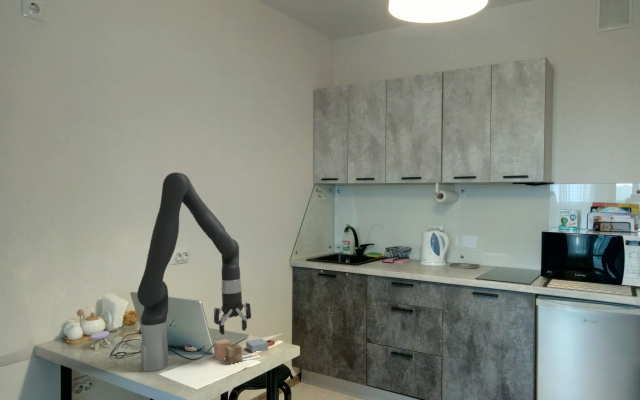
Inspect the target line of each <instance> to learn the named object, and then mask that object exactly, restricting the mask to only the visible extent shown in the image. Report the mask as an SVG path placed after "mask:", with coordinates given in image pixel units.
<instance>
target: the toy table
mask: <svg viewBox="0 0 640 400" xmlns="http://www.w3.org/2000/svg"><path fill="white" fill-rule="evenodd" d="M108 336H110V331H108V330H104V331H98V332H96V333H93V334H91V336H90V340H93V342H92V343H91V344H90V345H95V347H93V349H94V348H97V347H99V348H100V346H101V345H100V344H102V343H103V344H104V345H111V346H112V344H111V342H109V341H108V340H107V337H108ZM104 345H103V346H104Z"/></svg>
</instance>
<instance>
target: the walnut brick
mask: <svg viewBox="0 0 640 400" xmlns="http://www.w3.org/2000/svg"><path fill="white" fill-rule="evenodd" d="M242 356H243V348H242V346H241V345H240V344H238V343H233V344H230V345H228V346H225V362H226V364H228V366H232V365H231V364H233V365H236V364H235V363H238V364H240V363H239V362H242V363H243V360H242Z"/></svg>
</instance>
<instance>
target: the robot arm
mask: <svg viewBox="0 0 640 400" xmlns="http://www.w3.org/2000/svg"><path fill="white" fill-rule="evenodd" d="M161 188H162V189H161V198H160V199H161V200H160V206H159V210H158V212H157V215H156V219H155V223H154V227H153V230H152V234H151V237H150V242H149V248H148V253H147V256H146V263H145V267H144V268H145V269H144V272H143V274H142V277H141V279H140V280H141V281H140V284H139V285H138V288H137V294H136V297H137V300H138V302H139V304H141V306H143V311H142V314H141V316H140V325H141V326H140V329H141V330H140V331H141V332H140V333H141V335H140V336H141V342H140V358H141V360H140V361H141V362H140V363H141V368H142V370H143V372H144V373H145V372H156V371H161V370H163V369H166V368H167V367H168V366H169V349H168V323H167V322H168V321H167V319H168V317H167V316H168V312H169V290H168V286H167V284H166V282H165V281H164V277H165V272H166V269H167V268H168V265H169V263H170V261H171V259H172V257H173V255H174V253H175V249H176V246H177V242H178V238H179V232H180V212H181V207H182V203H183V205H184V206H185V207H186V208H187V210H189V212H190V214H191V215H192V217H193V219H194V220H195V221H196V223H197V225H198V227H200V228H201V230H202V231H203V232H204V234H205V235H206V236H207V237H208V238H209V240H210V241H211V242H212V243H213V245H214V246H215V248H216V249H217V251H218V252H219V253H220V254H221V301H222V303H221V304H222V305H221V307H214V310H213V323H214V324H216V325H218V327H219V328H218V329H219V330H218V331H219V334H221V335H222V336H224V335H225V325H224V324H225V323H226V321H227V320H228V318H229V319H230V318H233V317H235V318H236V317H238V316H239V317H240V318H241V319H242V320H241V329H242V331H247V330H246V329H248V327H247V326H248V325H247V323H248V320H250V319H251V318H252V312H251V311H252V309H251V304H250V303H249V302H245V303H243V295H242V282H241V270H240V245H239V243H238V241H237V240H236V239H233V238H232V237H231V235H230V233H228V231H226V229H225V226H224V225H223V224H222V223H221V221H220V220H219V219H218V218H217V216H216V215H215V214H214V213H213V212H212V211H211V209H210V208H209V207H208V206H207V205H206V203H204V201H203V200H202V198H201V197H200V196H199V194H198V193H197V190H196V189H195V188H194V185H193V184H192V182H191V180H190V178H189V176H188V175H186V174H184V173H183V172H171V173H169V174H167V175H166V176H165V178H164V179H163V182H162V187H161ZM243 309H244V310H245V314H244V313H243V312H242V311H243ZM221 312H222V315H221V317H220V314H221Z"/></svg>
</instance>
